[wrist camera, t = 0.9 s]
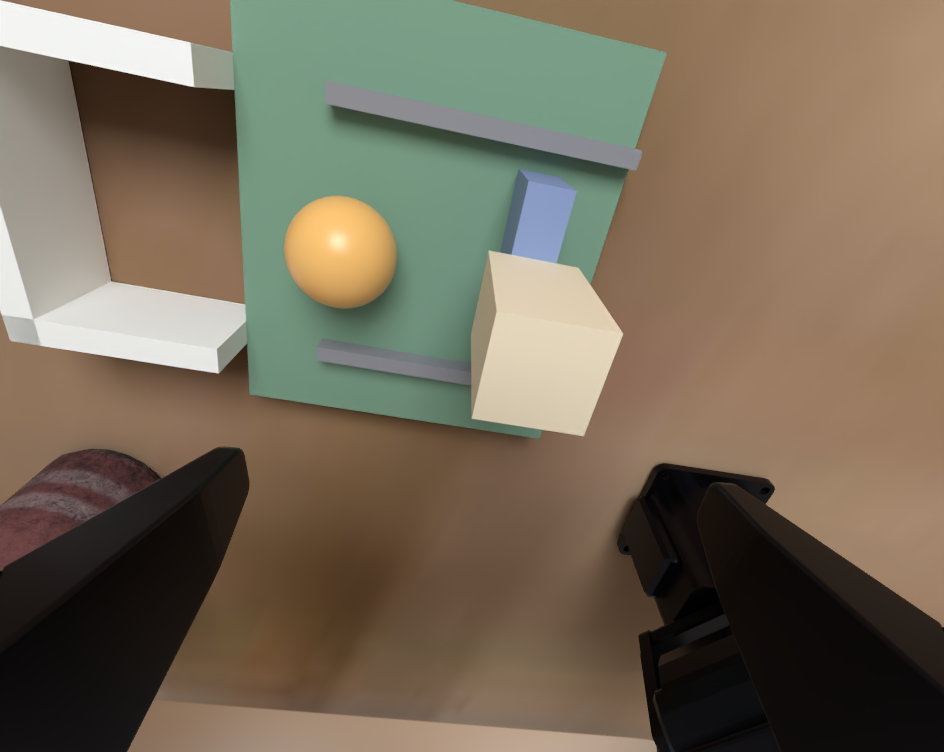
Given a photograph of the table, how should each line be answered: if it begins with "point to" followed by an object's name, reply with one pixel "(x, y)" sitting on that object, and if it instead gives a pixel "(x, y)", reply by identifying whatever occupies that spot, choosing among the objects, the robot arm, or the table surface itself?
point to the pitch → (415, 178)
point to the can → (67, 498)
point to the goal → (88, 200)
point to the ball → (340, 252)
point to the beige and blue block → (539, 321)
